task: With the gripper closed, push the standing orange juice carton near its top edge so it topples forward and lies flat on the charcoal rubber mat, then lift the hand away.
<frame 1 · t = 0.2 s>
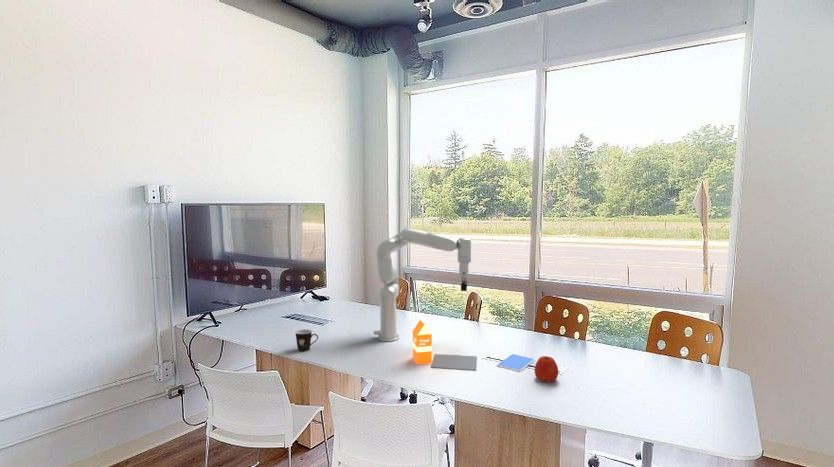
hand: (464, 289, 234), 31 cm above the table, tool pointing down, fingers open, 9 cm apart
apple: (546, 379, 185), on the table
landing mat: (454, 362, 205), on the table
tablet computer: (515, 364, 205), on the table
orange juice: (422, 360, 208), on the table
coffee mug: (305, 350, 223), on the table
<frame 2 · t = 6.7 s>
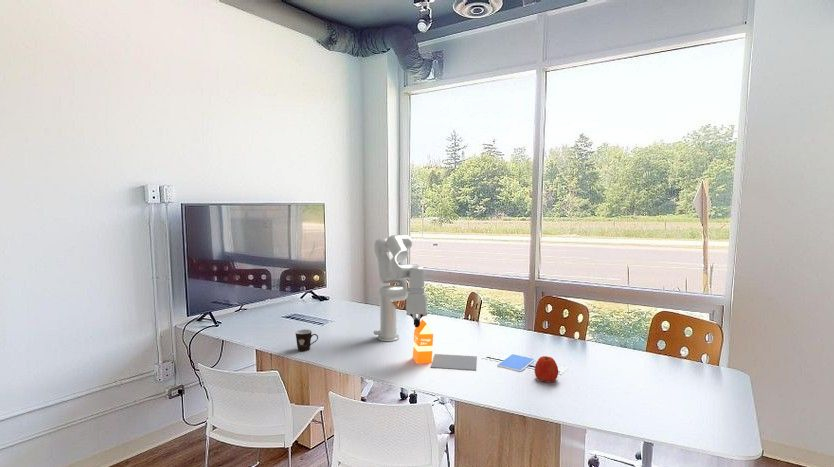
hand: (416, 326, 207), 17 cm above the table, tool pointing down, fingers closed
orange juice: (422, 360, 208), on the table, touching gripper
everything else where it was.
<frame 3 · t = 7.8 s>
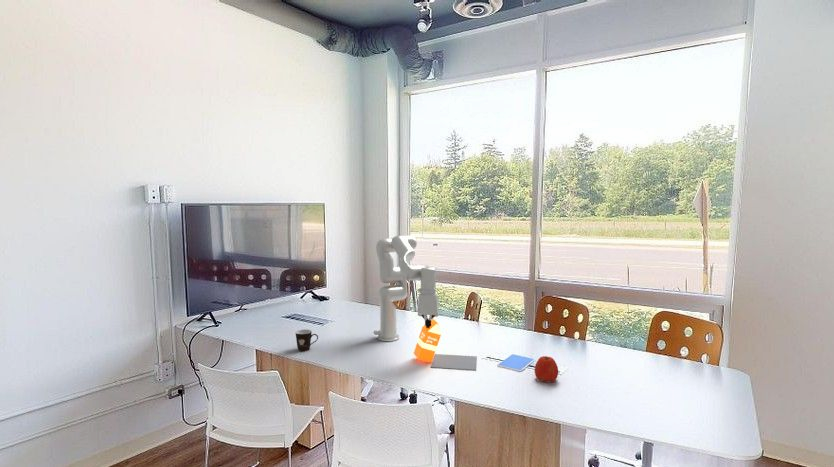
hand: (428, 327, 207), 17 cm above the table, tool pointing down, fingers closed
orange juice: (422, 358, 208), point 1 cm above the table
everything else where it was.
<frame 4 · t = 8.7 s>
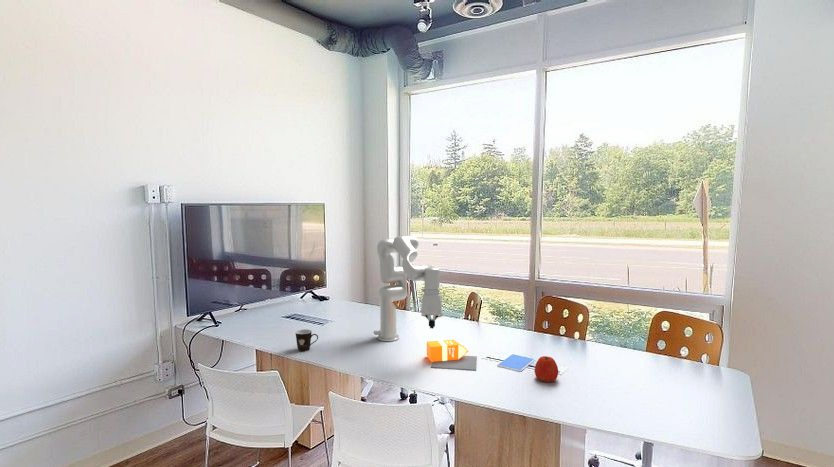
hand: (431, 327, 206), 17 cm above the table, tool pointing down, fingers closed
orange juice: (428, 351, 209), point 4 cm above the table, touching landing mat
everything else where it was.
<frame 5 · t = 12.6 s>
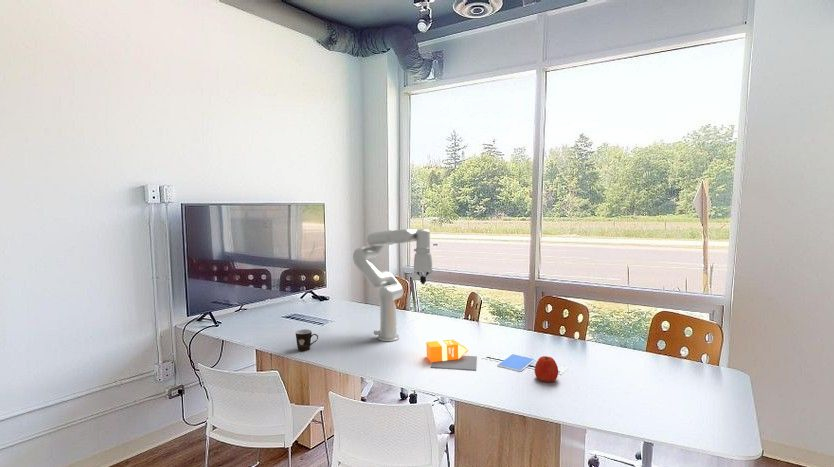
hand: (423, 283, 230), 35 cm above the table, tool pointing down, fingers closed
nothing on the table moved.
at the end: orange juice tilted 88°; orange juice inside the target area (6.2 cm from its centre), point 4.1 cm above the table; the gripper is holding nothing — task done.
